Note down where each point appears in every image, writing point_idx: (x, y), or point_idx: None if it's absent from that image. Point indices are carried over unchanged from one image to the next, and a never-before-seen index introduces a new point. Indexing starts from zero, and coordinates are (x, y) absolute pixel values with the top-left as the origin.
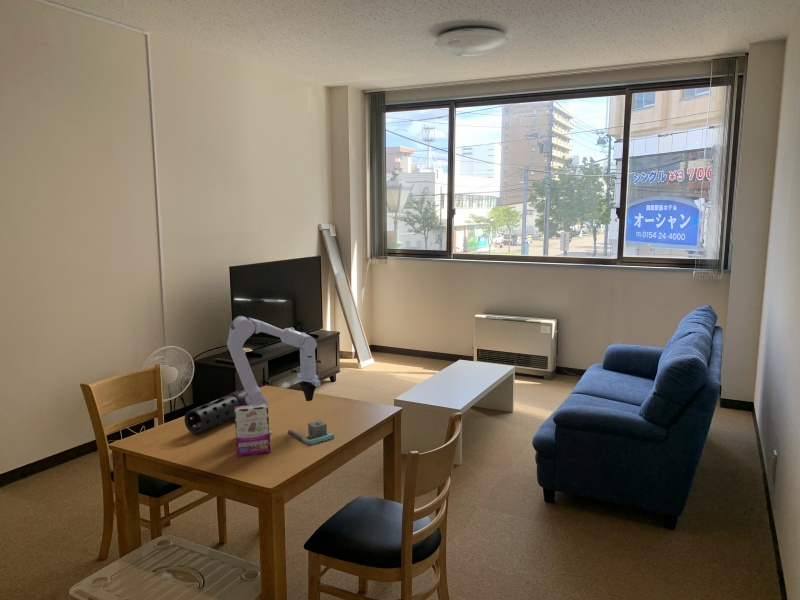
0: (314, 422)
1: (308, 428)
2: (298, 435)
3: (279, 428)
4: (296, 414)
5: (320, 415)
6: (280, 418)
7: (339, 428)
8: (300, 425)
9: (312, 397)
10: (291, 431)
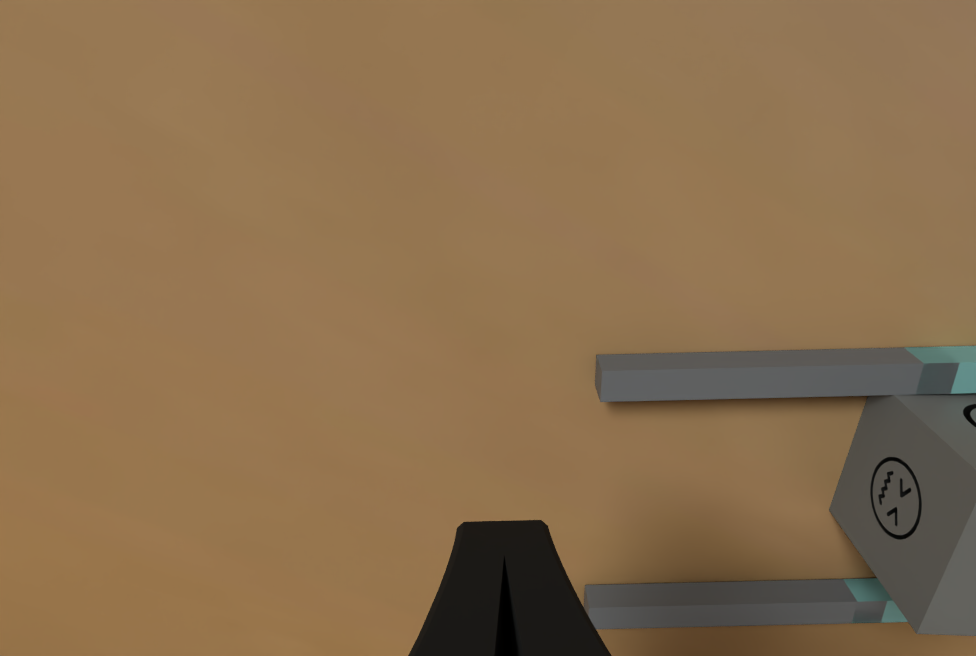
0: (970, 568)
1: (883, 578)
2: (806, 620)
3: (405, 617)
4: (7, 289)
5: (234, 14)
6: (82, 498)
7: (954, 96)
8: (463, 433)
9: (562, 574)
10: (648, 622)
